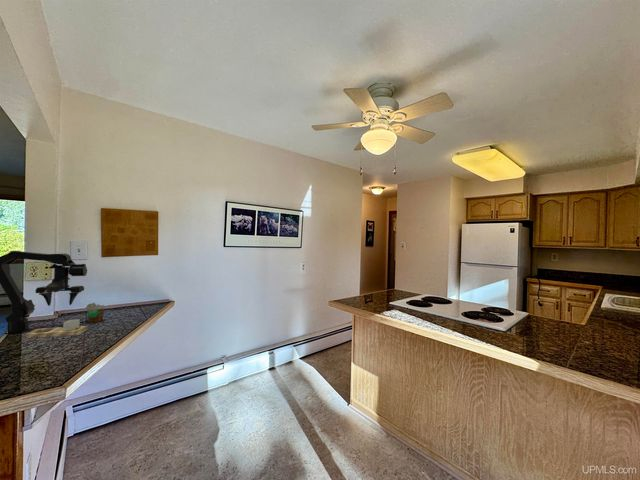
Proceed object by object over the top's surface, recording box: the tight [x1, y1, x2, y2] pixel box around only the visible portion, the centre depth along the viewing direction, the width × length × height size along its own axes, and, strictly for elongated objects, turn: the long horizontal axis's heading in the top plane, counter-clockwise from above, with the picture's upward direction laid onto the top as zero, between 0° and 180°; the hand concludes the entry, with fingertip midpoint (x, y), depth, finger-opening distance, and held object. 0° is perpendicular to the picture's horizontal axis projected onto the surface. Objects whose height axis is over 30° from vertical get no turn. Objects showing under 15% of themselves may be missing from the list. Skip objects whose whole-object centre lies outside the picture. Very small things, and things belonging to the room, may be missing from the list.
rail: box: [24, 325, 89, 339], centre depth 136 cm, size 21×9×2 cm, turn 109°
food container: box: [85, 302, 105, 324], centre depth 158 cm, size 12×6×10 cm, turn 62°
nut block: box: [62, 318, 81, 331], centre depth 138 cm, size 5×5×6 cm
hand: (59, 305), depth 145 cm, fingers open, 9 cm apart
